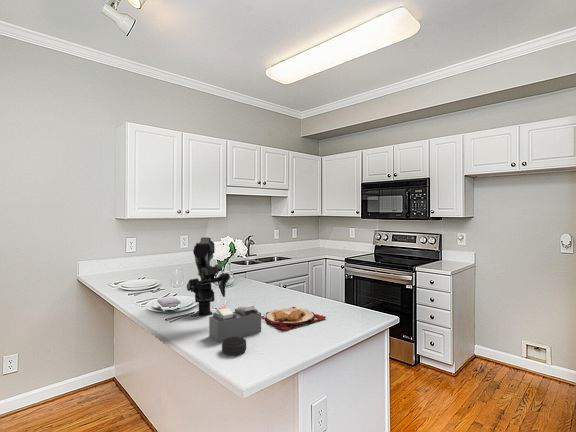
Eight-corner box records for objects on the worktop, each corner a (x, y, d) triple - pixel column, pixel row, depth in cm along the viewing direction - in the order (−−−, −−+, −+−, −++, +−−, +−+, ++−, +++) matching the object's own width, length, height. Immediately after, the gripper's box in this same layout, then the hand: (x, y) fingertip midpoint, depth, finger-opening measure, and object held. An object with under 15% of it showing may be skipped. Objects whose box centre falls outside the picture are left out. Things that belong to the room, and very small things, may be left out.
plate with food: (327, 320, 165) (327, 313, 165) (283, 332, 148) (283, 323, 148) (293, 309, 184) (293, 302, 184) (251, 318, 167) (251, 311, 167)
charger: (166, 315, 171) (157, 307, 183) (184, 311, 176) (174, 304, 188) (166, 305, 170) (157, 298, 182) (184, 302, 176) (174, 296, 188)
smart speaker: (237, 344, 135) (237, 334, 135) (251, 352, 128) (251, 341, 128) (217, 350, 129) (217, 340, 129) (230, 358, 122) (230, 347, 122)
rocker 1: (216, 311, 144) (216, 307, 143) (226, 309, 146) (226, 306, 146) (222, 319, 139) (223, 315, 138) (232, 317, 141) (233, 313, 141)
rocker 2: (238, 311, 149) (237, 307, 150) (247, 309, 152) (246, 305, 152) (245, 311, 144) (245, 307, 145) (254, 309, 147) (254, 305, 147)
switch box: (209, 336, 143) (209, 313, 143) (251, 326, 155) (251, 305, 155) (217, 342, 137) (217, 318, 136) (261, 331, 148) (261, 309, 148)
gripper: (188, 261, 148) (198, 294, 140) (228, 255, 158) (240, 286, 151) (182, 274, 155) (191, 306, 148) (220, 268, 166) (231, 297, 159)
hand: (214, 298), depth 151 cm, fingers open, 9 cm apart
